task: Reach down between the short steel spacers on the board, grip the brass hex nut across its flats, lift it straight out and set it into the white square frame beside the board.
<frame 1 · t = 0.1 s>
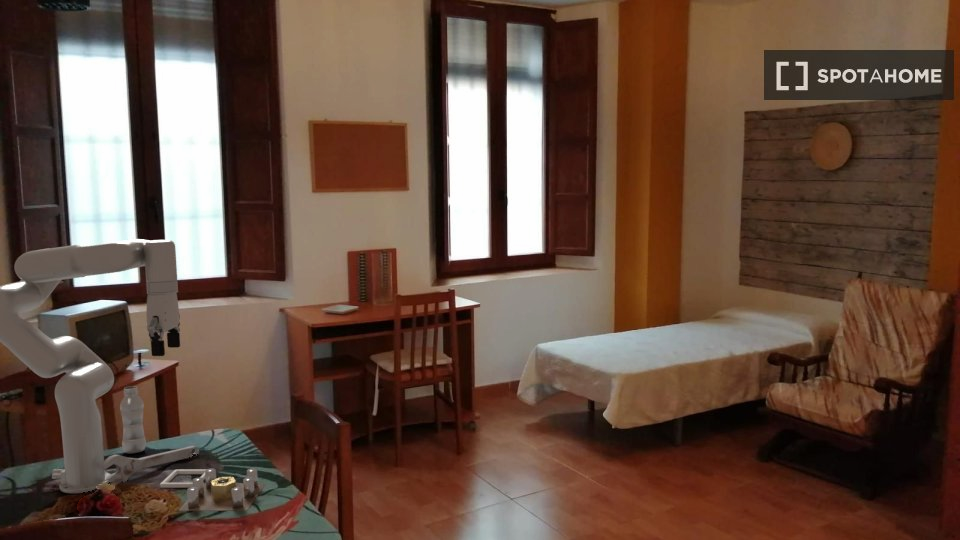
hand: (166, 351, 199), 37 cm above the table, tool pointing down, fingers open, 9 cm apart
nut: (223, 488, 194), on the board, point 3 cm above the table
white square frame: (186, 483, 205), on the table
wrench: (154, 471, 214), on the table
board: (224, 499, 194), on the table
plastic bottle: (134, 452, 228), on the table
spacers: (223, 487, 194), on the board, point 3 cm above the table
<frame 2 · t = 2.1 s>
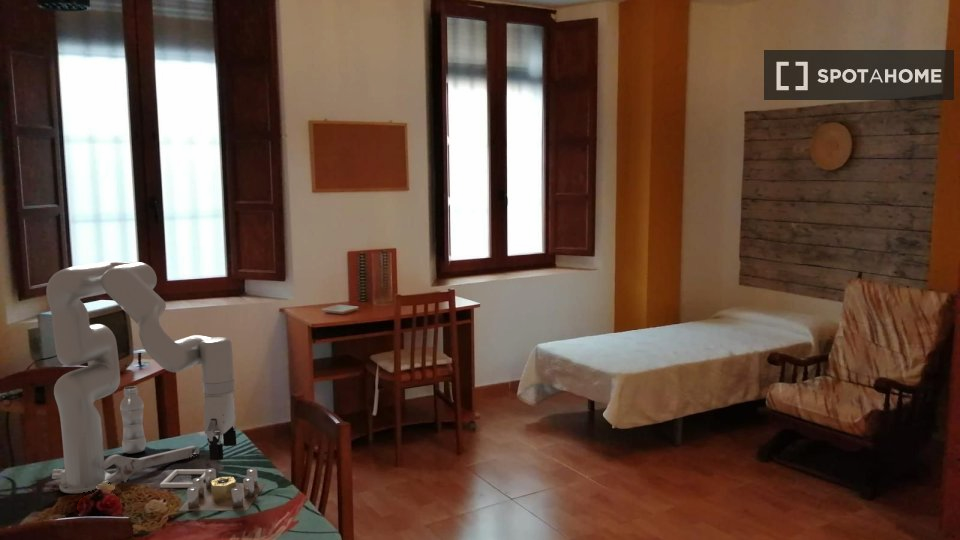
hand: (223, 452, 192), 13 cm above the table, tool pointing down, fingers open, 9 cm apart
nothing on the table moved.
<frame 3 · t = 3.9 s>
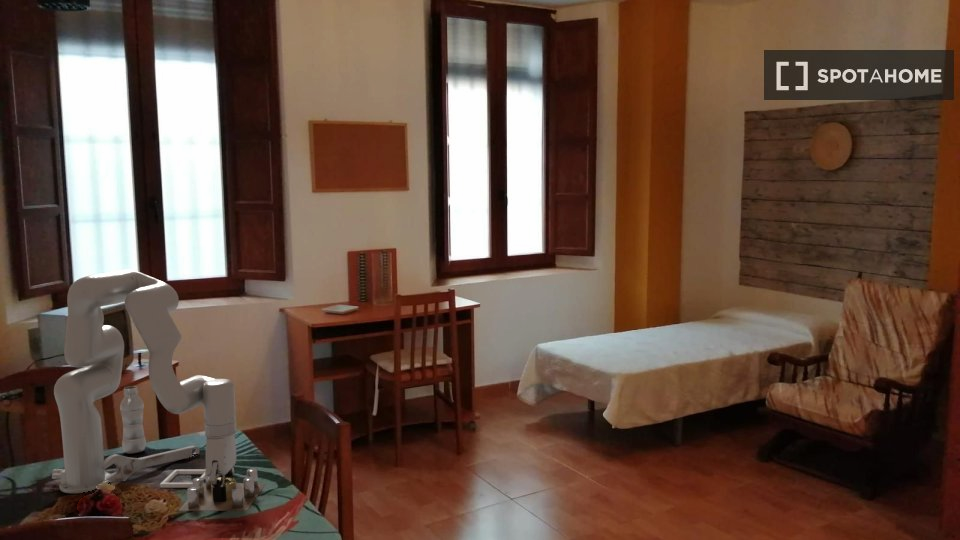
hand: (224, 495, 194), 1 cm above the table, tool pointing down, fingers closed on nut, 5 cm apart
nut: (223, 488, 194), on the board, point 3 cm above the table, touching gripper
everything else where it was.
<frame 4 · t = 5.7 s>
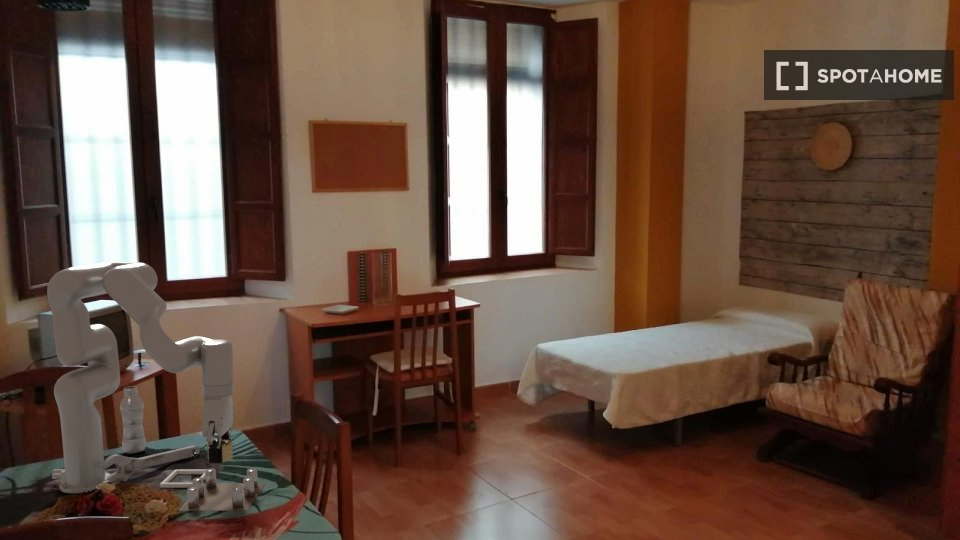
hand: (220, 457, 193), 11 cm above the table, tool pointing down, fingers closed on nut, 5 cm apart
nut: (219, 450, 192), point 13 cm above the table, touching gripper
everything else where it was.
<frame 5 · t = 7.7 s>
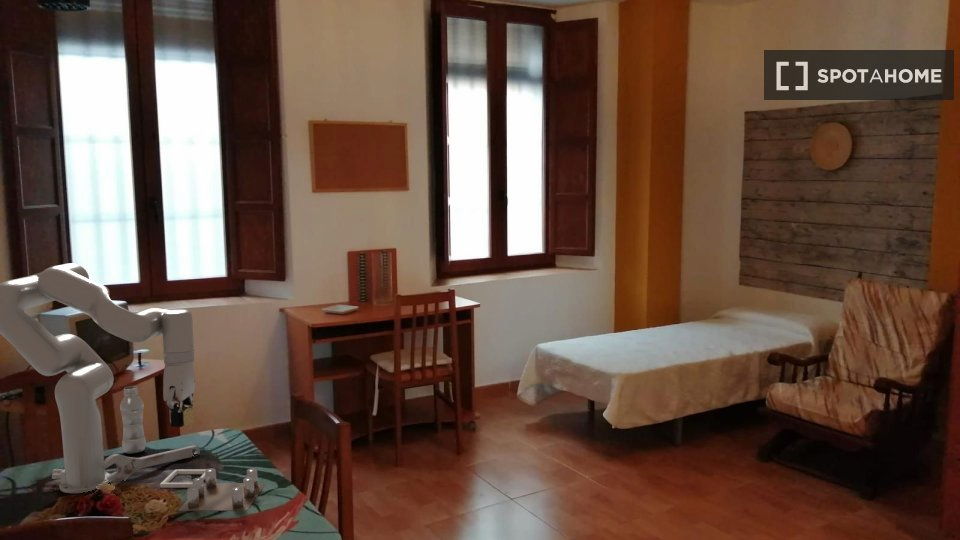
hand: (182, 421, 202), 17 cm above the table, tool pointing down, fingers closed on nut, 5 cm apart
nut: (181, 415, 202), point 19 cm above the table, touching gripper
everything else where it was.
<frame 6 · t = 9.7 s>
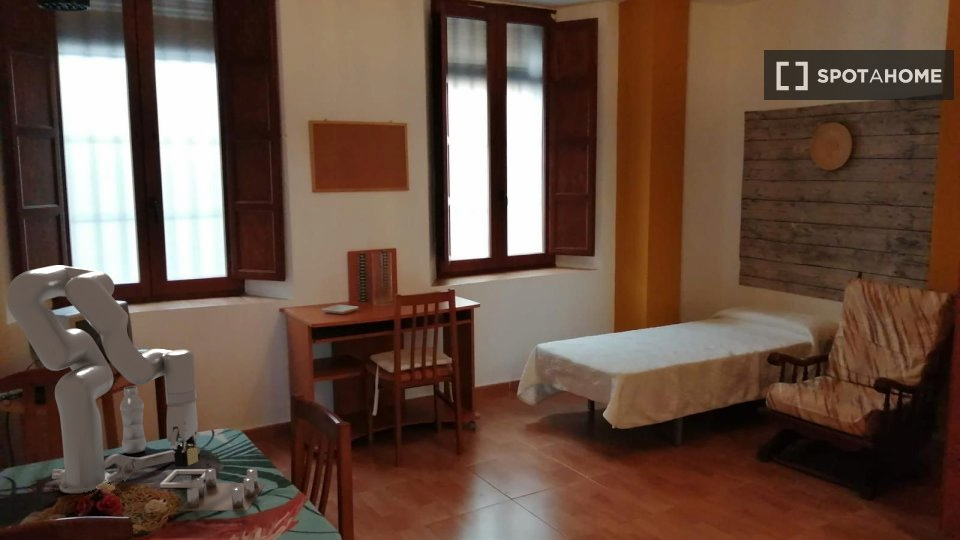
hand: (186, 461, 204), 6 cm above the table, tool pointing down, fingers closed on nut, 5 cm apart
nut: (185, 454, 204), point 8 cm above the table, touching gripper
everything else where it was.
when the fingers open (3 cm above the table, at t = 11.2 s): nut drops 3 cm, resting on white square frame.
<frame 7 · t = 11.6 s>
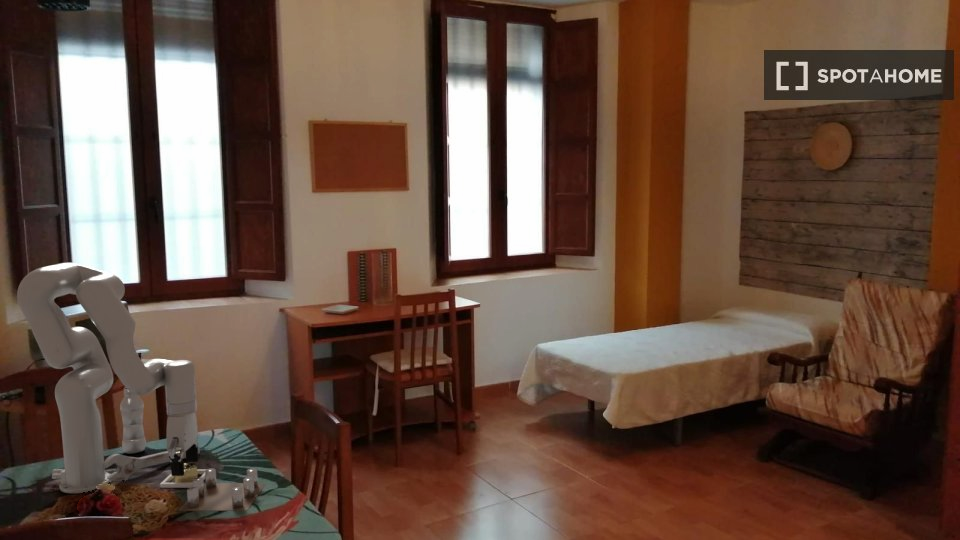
hand: (185, 468, 204), 4 cm above the table, tool pointing down, fingers open, 9 cm apart
nut: (185, 474, 204), in the white square frame, point 3 cm above the table
everything else where it was.
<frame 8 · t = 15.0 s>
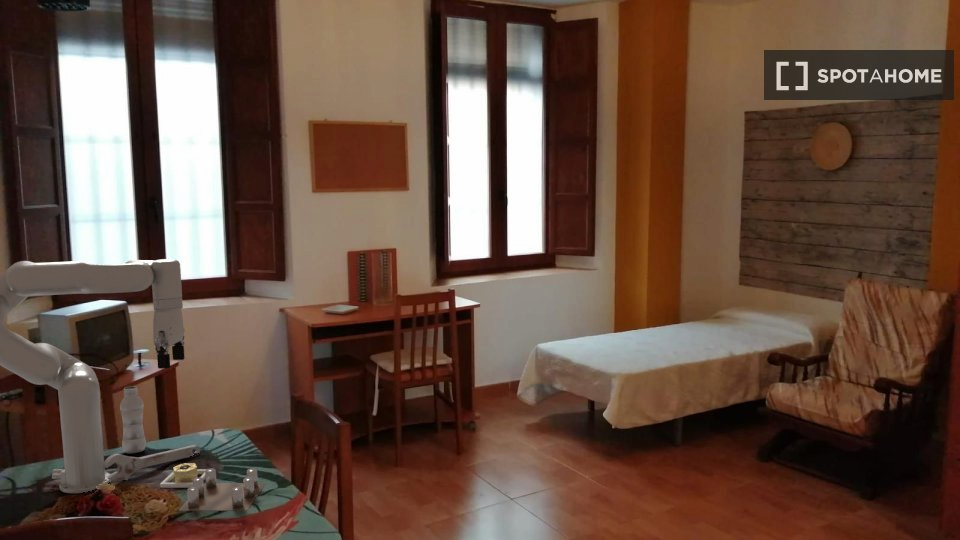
hand: (171, 363, 212), 30 cm above the table, tool pointing down, fingers open, 9 cm apart
nothing on the table moved.
at the end: nut 0.0 cm off-centre on the white square frame, point 2.6 cm above the white square frame's base; the gripper is holding nothing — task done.
